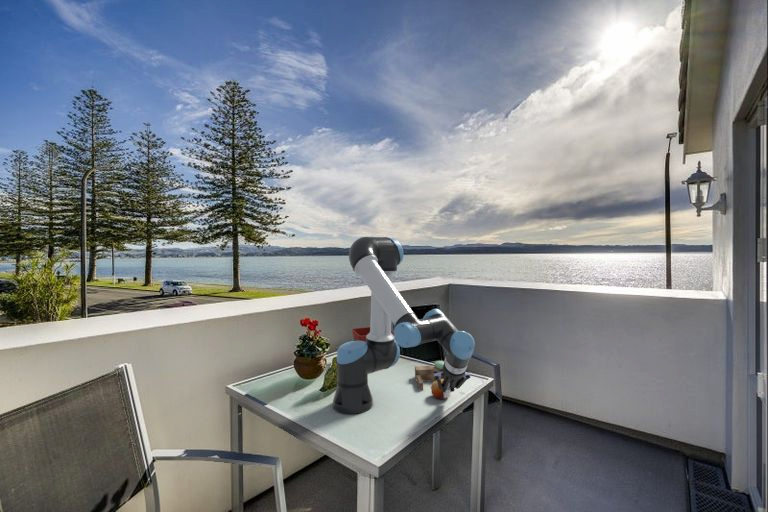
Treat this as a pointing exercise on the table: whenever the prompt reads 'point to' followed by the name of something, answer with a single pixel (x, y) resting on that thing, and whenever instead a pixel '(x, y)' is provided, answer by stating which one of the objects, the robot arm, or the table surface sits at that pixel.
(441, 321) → the robot arm
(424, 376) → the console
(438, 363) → the button
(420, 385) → the brown wooden u shape
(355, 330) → the plant pot
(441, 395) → the fruit
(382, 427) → the table surface
